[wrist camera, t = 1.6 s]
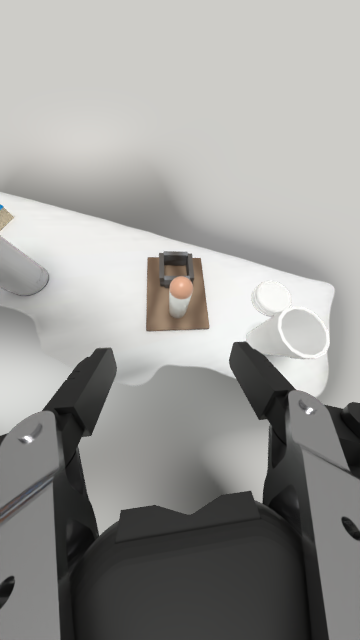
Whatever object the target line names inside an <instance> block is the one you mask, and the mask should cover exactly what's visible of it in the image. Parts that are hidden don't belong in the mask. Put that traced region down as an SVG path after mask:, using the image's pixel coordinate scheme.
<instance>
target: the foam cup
mask: <svg viewBox="0 0 360 640" xmlns="http://www.w3.org/2000/svg"><path fill="white" fill-rule="evenodd" d="M246 342H247V343H248V344H249V345H250V346H251V347H252V348H253V349H256V350H257V351H259V352H260V353H262V354H266V355H275V356H285V357H290V358H295V359H316V358H318V357H320V356H322V355H324V354H325V353H326V351H327V349H328V347H329V345H330V343H329V342H330V341H329V332H328V330H327V328H326V326H325V324H324V322H323V321H322V320H321V319H320V318H319V317H318V316H317V315H316V314H315V313H314V312H312V311H310V310H308V309H306V308H304V307H297V306H292V307H290V308H287V309H285V310H282V311H280V312H278V313H276V314H274V316H273V317H271V318H270V319H268V320H267V321H265V322H264V323H262V324H261V325H259V326H258V327H256V328H255V329H253V330H252V331H250V332H249V333H248V334H247V336H246Z"/></svg>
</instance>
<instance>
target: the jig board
mask: <svg viewBox="0 0 360 640" xmlns="http://www.w3.org/2000/svg"><path fill="white" fill-rule="evenodd" d="M179 276H183V277H186V278H188V279H189V280H190V281H191V282H192V285H193V292H192V295H191V298H190V301H189V304H188V307H187V310H186V313H185V315H184V316H183V317H181V318H174V317H172V316H171V315H170V312H169V287H170V283H171V282H172V280H173V279H174V278H176V277H179ZM191 329H209V320H208V312H207V304H206V296H205V288H204V280H203V272H202V264H201V258H192V254H188V253H187V252H167V251H164V253H159V258H154V257H148V267H147V320H146V330H147V331H163V330H191Z"/></svg>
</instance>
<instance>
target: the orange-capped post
mask: <svg viewBox="0 0 360 640" xmlns="http://www.w3.org/2000/svg"><path fill="white" fill-rule="evenodd" d="M192 292H193V285H192V282H191V281H190V280H189V279H188V278H186V277H183V276H179V277H176V278H174V279H173V280H172V282H171V283H170V287H169V312H170V315H171V316H172V317H174V318H181V317H183V316H184V315H185V313H186V310H187V307H188V304H189V301H190V298H191V295H192Z"/></svg>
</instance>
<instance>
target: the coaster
mask: <svg viewBox="0 0 360 640" xmlns="http://www.w3.org/2000/svg"><path fill="white" fill-rule="evenodd" d="M251 300H252V303H253V305H254V307H255V308H256V309H257V310H258V311H259V312H260V313H262V314H264V315H267V316H274V314H276V313H278V312H280V311H282V310H285V309H287V308H290V306H291V303H292V298H291V294H290V292H289V291H288V289H287V288H286V287H285V286H284V285H282V284H281V283H279V282H276V281H271V280H270V281H264V282H262V283H261V284H260V285H258V286H257V287H256V288H255V289H254V290H253V292H252V295H251Z"/></svg>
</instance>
